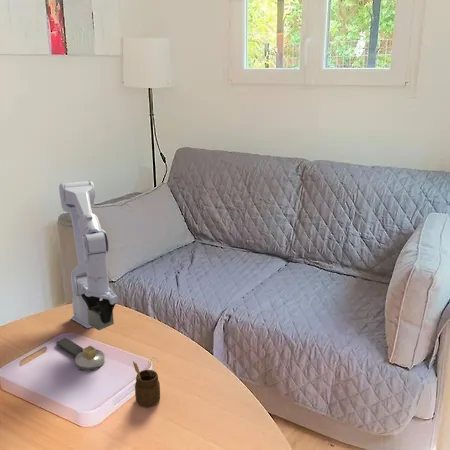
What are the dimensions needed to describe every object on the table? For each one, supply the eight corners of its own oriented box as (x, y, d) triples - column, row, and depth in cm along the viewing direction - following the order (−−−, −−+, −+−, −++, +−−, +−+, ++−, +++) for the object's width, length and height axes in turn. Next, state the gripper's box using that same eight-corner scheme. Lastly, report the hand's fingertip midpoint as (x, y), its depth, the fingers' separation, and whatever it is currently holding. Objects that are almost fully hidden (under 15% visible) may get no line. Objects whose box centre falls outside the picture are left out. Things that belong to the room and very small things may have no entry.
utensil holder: (165, 400, 123) (164, 357, 120) (143, 412, 119) (141, 367, 116) (151, 389, 128) (149, 347, 124) (129, 400, 123) (127, 357, 120)
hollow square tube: (88, 324, 145) (87, 308, 143) (103, 318, 148) (102, 302, 147) (99, 330, 142) (97, 314, 140) (113, 323, 145) (112, 308, 144)
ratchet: (49, 348, 145) (47, 335, 144) (72, 338, 150) (71, 325, 149) (86, 374, 134) (85, 359, 132) (110, 362, 139) (109, 348, 138)
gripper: (70, 272, 142) (74, 315, 146) (101, 286, 133) (104, 332, 137) (91, 264, 147) (94, 307, 151) (122, 278, 138) (125, 323, 142)
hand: (100, 318), depth 145 cm, fingers closed on hollow square tube, 5 cm apart
